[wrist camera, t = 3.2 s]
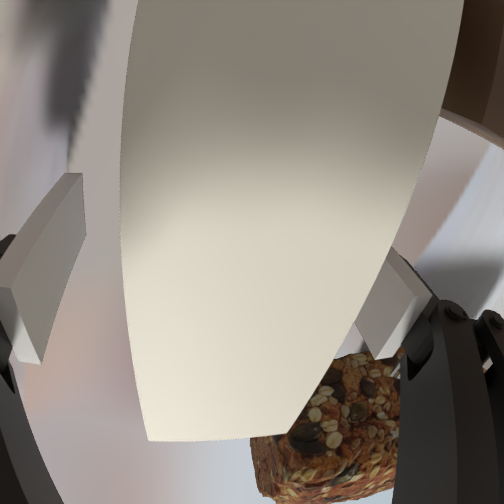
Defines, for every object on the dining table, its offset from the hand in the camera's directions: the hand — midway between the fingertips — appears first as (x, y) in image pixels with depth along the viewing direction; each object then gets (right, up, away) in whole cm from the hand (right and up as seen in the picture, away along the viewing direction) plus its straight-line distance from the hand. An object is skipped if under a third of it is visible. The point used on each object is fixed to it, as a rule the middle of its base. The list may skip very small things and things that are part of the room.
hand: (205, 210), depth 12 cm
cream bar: (+1, +4, -2) cm, 5 cm away
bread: (+11, -12, +12) cm, 20 cm away
